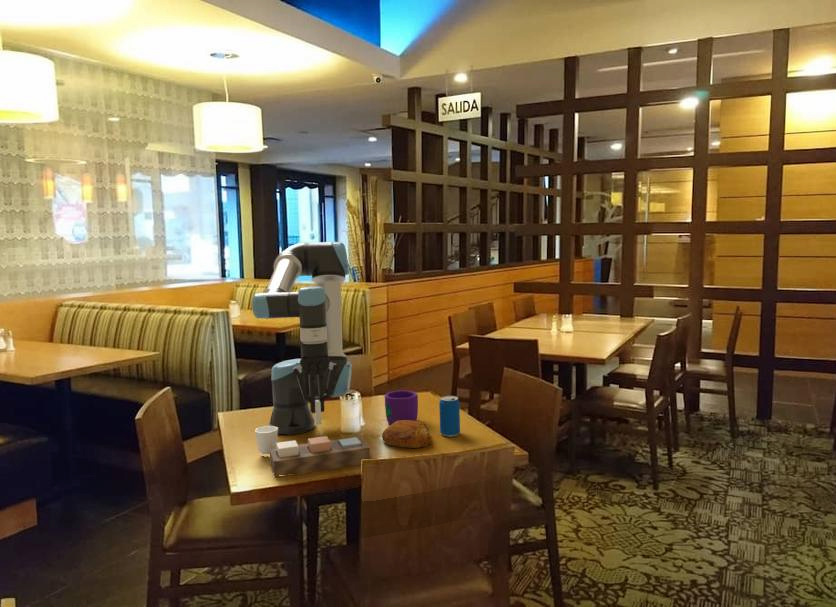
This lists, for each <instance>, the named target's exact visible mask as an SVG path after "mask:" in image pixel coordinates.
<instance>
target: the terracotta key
mask: <svg viewBox="0 0 836 607" xmlns="http://www.w3.org/2000/svg"><path fill="white" fill-rule="evenodd" d="M307 444H308V449H309V452H310V453H315V452H322V451H329V450H330V439H329V438H328V436H327V435H325V436H323V435H322V436H318V437H311V438H310V437H309V438H307Z"/></svg>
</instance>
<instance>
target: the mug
mask: <svg viewBox="0 0 836 607" xmlns="http://www.w3.org/2000/svg"><path fill="white" fill-rule="evenodd" d="M384 407H385V408H384V409H385V418H386V421H387V423H388V424H389V425H391V424H393V423H394V422H396V421H399V420H411V421H418V414H419V398H418V393H417V392H415V391H413V390H412V391H411V390H406V389H405V390H403V389H402V390H393V391H389V392H386V393H385V395H384Z"/></svg>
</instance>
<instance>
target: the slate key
mask: <svg viewBox="0 0 836 607" xmlns="http://www.w3.org/2000/svg"><path fill="white" fill-rule="evenodd" d="M349 438H350V439H344V438H341V439H342V440H339V445H340V447H341V448H342V449H343V448H350V447H357V446H361V442H360V441H359V440H358V439H357V438H351V437H349Z"/></svg>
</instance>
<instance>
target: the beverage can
mask: <svg viewBox="0 0 836 607" xmlns="http://www.w3.org/2000/svg"><path fill="white" fill-rule="evenodd" d="M438 404H439V432H440V434H441V435H442V436H443V437H446V436H447V437H448V438H449V437H450V438H452V437H453V436H454V437H456V436H458V435H459V434H460V433H461V413H460V409H461V408H460V401H459V396H455V395H444V396H441V397H440V400H439V402H438ZM454 437H453V438H454Z"/></svg>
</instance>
